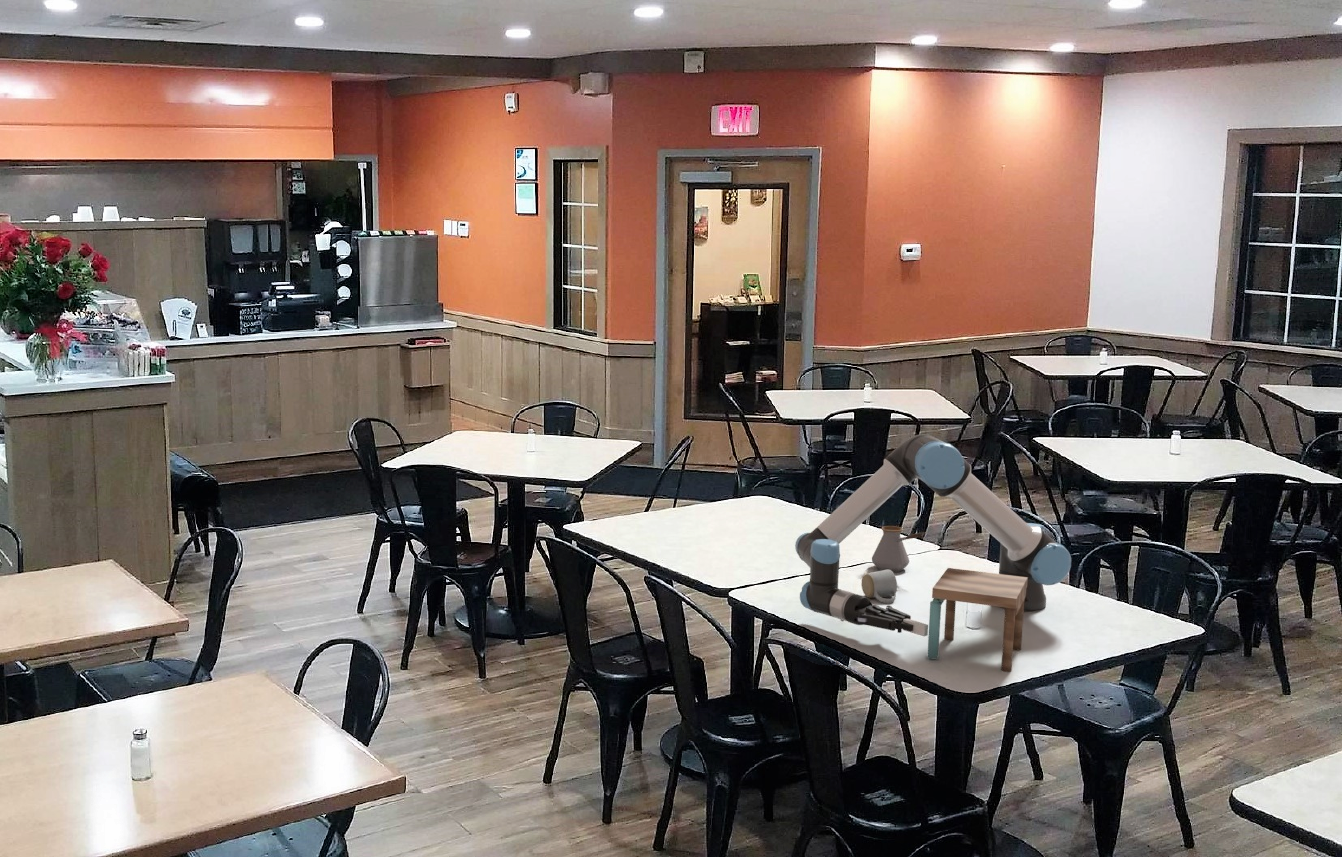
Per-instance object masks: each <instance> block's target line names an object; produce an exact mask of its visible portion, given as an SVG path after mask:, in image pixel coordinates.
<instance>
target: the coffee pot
mask: <svg viewBox="0 0 1342 857" xmlns="http://www.w3.org/2000/svg"><path fill="white" fill-rule="evenodd" d="M881 531H882V534H883V535H882V536H881V539H880V541H879V542H878V544H877V546H876V548H875V550H874V553H873V554H872V557H871V561H872V564H873V565H874V566H875V567H876V568H877V569H878V571H882V570H887V569H889V570H891V571H892V572H893V573H898V572H902V571H904V569H905V568H906V567H908V565H909V564H910V559H909V555H908V553H907V550H906V548H905V544H904V543H903V541H906V540H910V539H911V540H912V539H917V538H918V537H921V538H922V539H923V540H928V538H929V535H928V533H926V532H924V531H923V532H918V533H913V534H909V535H906V536H904V537H901V533H902V531H903V528H902V527H901V526H895V525H885V526H882V527H881ZM924 535H926V536H927V537H926V538H924Z"/></svg>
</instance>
